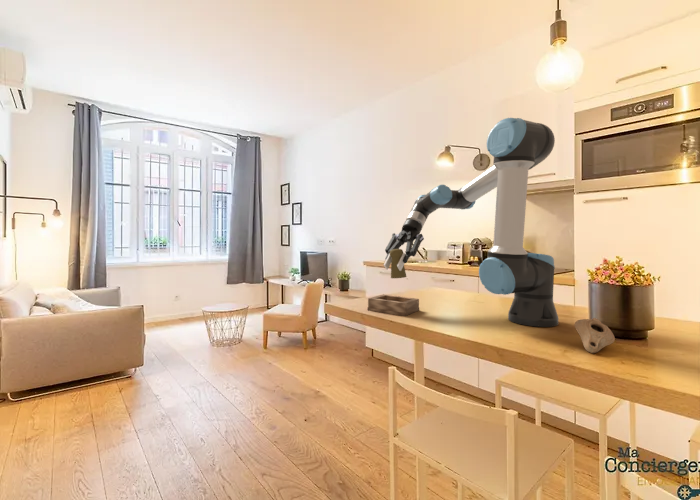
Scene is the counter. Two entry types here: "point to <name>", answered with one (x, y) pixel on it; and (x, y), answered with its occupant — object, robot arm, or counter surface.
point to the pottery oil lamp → (594, 334)
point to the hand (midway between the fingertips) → (392, 267)
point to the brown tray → (393, 304)
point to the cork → (396, 257)
